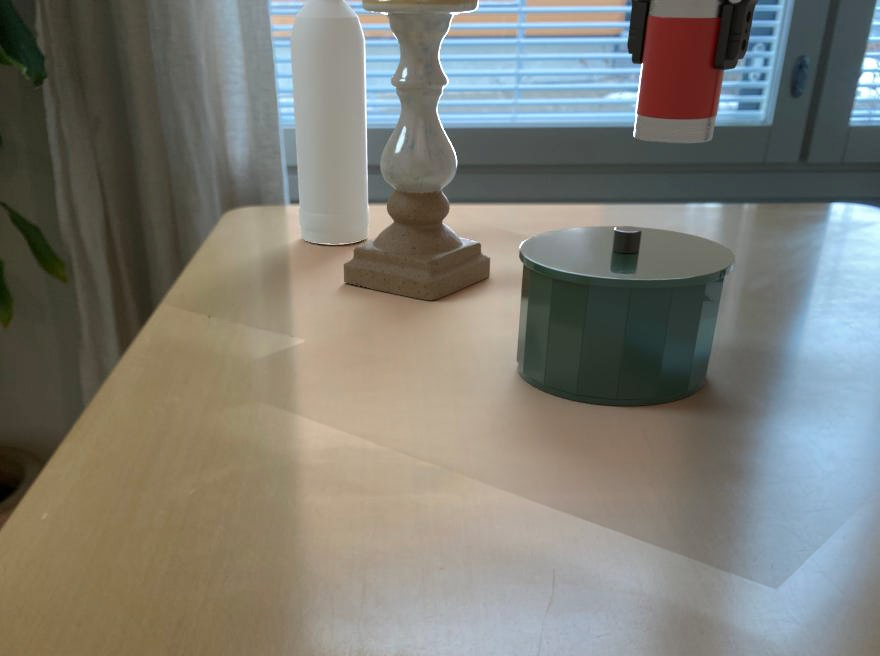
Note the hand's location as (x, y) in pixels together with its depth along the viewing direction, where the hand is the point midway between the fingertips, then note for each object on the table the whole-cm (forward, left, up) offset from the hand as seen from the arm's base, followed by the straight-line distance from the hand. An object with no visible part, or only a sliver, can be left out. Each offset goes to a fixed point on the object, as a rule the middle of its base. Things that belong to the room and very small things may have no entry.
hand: (682, 64), depth 68 cm
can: (0, 0, -5) cm, 5 cm away
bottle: (+24, -41, -21) cm, 52 cm away
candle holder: (+16, -23, -21) cm, 35 cm away
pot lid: (+3, +4, -12) cm, 13 cm away
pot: (+3, +4, -21) cm, 21 cm away
